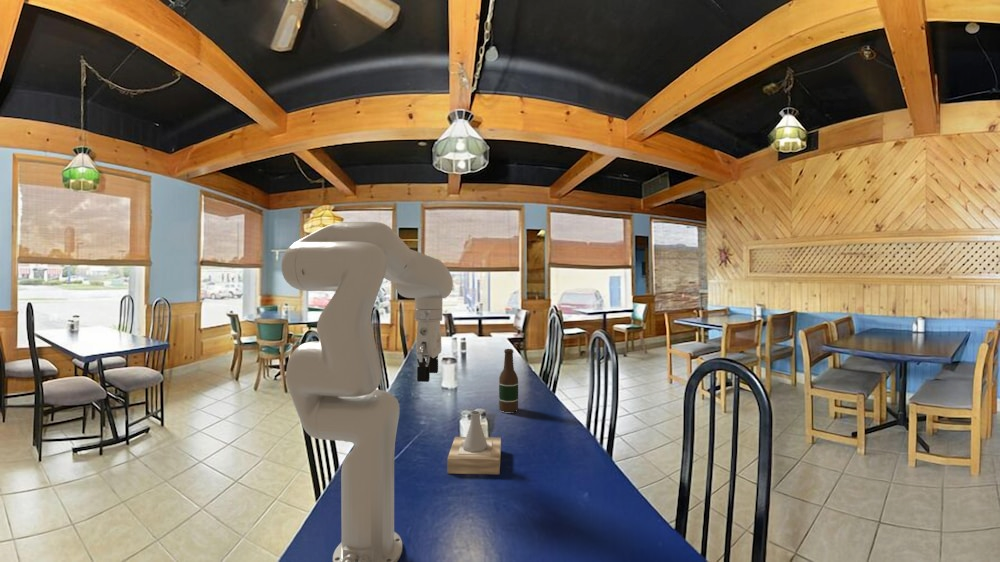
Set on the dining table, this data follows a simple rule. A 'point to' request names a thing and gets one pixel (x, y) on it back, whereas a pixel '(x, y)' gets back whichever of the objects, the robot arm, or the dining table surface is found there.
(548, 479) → the dining table surface
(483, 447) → the flask
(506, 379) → the beer bottle
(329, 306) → the robot arm
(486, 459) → the plinth
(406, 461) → the dining table surface
